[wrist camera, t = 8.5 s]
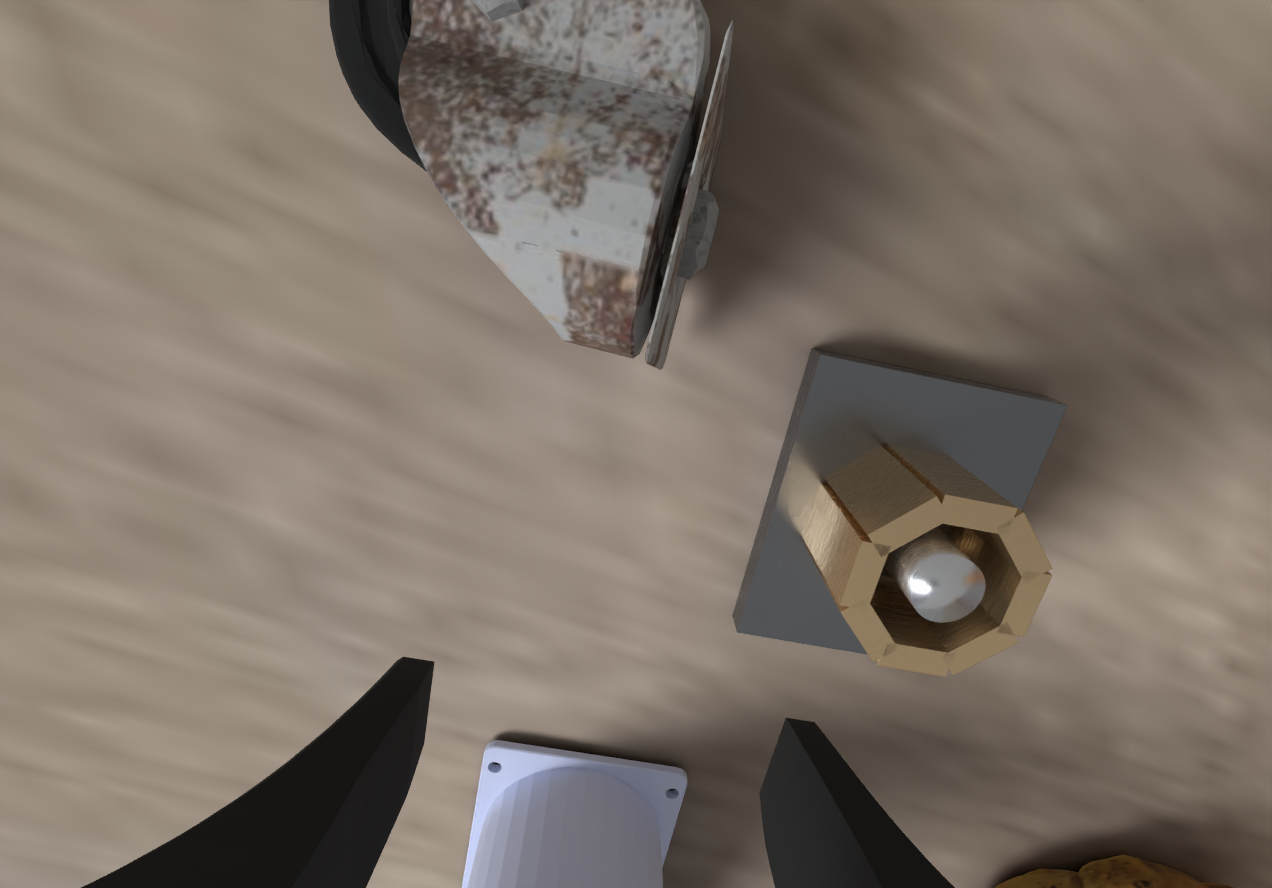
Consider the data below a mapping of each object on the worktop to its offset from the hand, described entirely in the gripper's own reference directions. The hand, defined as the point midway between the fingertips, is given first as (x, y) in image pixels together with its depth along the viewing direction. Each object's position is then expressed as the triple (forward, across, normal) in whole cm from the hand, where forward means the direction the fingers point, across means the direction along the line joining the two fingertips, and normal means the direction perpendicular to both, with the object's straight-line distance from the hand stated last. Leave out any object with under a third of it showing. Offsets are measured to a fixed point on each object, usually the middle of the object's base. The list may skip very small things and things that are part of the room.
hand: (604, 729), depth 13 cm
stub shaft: (+10, -9, -2) cm, 14 cm away
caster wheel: (+10, +4, -12) cm, 16 cm away
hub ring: (+9, -9, -2) cm, 13 cm away
